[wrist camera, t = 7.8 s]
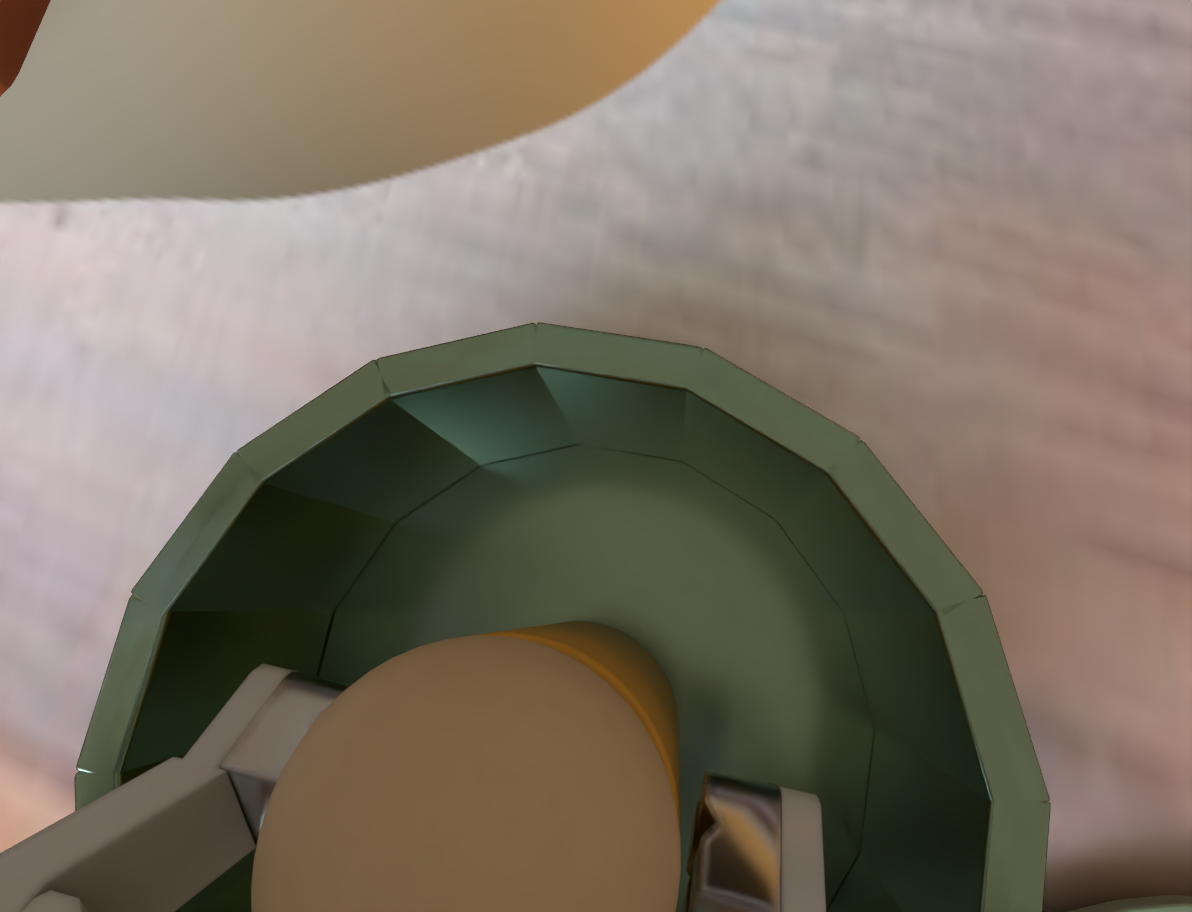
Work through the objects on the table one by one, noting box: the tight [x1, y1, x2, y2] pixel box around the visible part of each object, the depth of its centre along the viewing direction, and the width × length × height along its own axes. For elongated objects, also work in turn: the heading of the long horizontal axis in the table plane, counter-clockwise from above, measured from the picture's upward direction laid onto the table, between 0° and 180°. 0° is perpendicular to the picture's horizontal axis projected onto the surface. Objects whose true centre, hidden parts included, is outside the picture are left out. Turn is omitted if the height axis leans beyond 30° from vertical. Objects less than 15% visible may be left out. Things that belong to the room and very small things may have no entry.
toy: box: [251, 621, 681, 912], centre depth 11 cm, size 5×5×11 cm
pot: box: [75, 323, 1051, 912], centre depth 14 cm, size 15×15×6 cm
